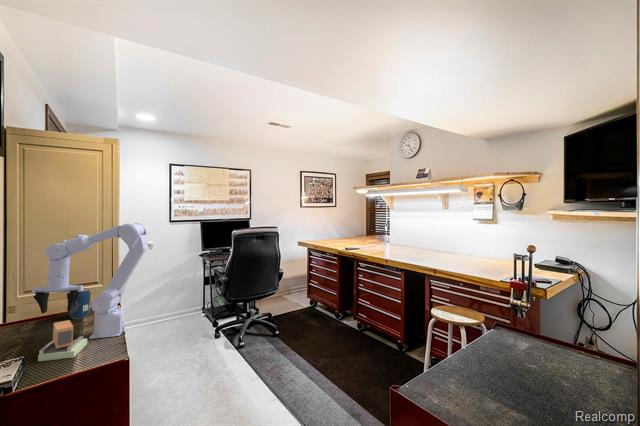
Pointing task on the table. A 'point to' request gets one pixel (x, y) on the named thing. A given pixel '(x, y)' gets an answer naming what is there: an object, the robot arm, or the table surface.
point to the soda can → (81, 305)
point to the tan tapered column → (63, 334)
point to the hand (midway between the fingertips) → (57, 311)
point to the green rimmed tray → (62, 350)
